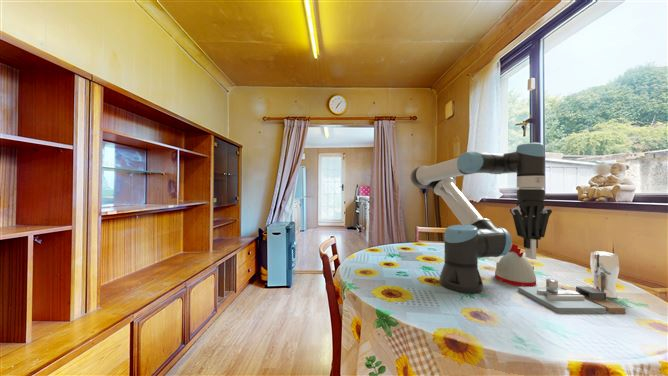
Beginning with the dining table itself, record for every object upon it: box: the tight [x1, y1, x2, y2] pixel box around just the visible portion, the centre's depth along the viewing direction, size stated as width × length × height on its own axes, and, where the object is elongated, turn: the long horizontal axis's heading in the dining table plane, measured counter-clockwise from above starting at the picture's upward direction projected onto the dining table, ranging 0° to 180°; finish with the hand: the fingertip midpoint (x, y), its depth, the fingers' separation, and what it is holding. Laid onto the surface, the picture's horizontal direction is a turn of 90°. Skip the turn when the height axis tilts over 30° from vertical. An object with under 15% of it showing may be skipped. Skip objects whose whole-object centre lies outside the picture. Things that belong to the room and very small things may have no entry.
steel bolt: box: [544, 278, 580, 295], centre depth 83 cm, size 10×3×5 cm, turn 90°
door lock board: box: [517, 285, 626, 314], centre depth 83 cm, size 21×16×4 cm
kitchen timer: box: [494, 243, 537, 287], centre depth 102 cm, size 14×14×15 cm
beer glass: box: [589, 250, 620, 299], centre depth 88 cm, size 7×7×15 cm
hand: (530, 257), depth 83 cm, fingers closed
